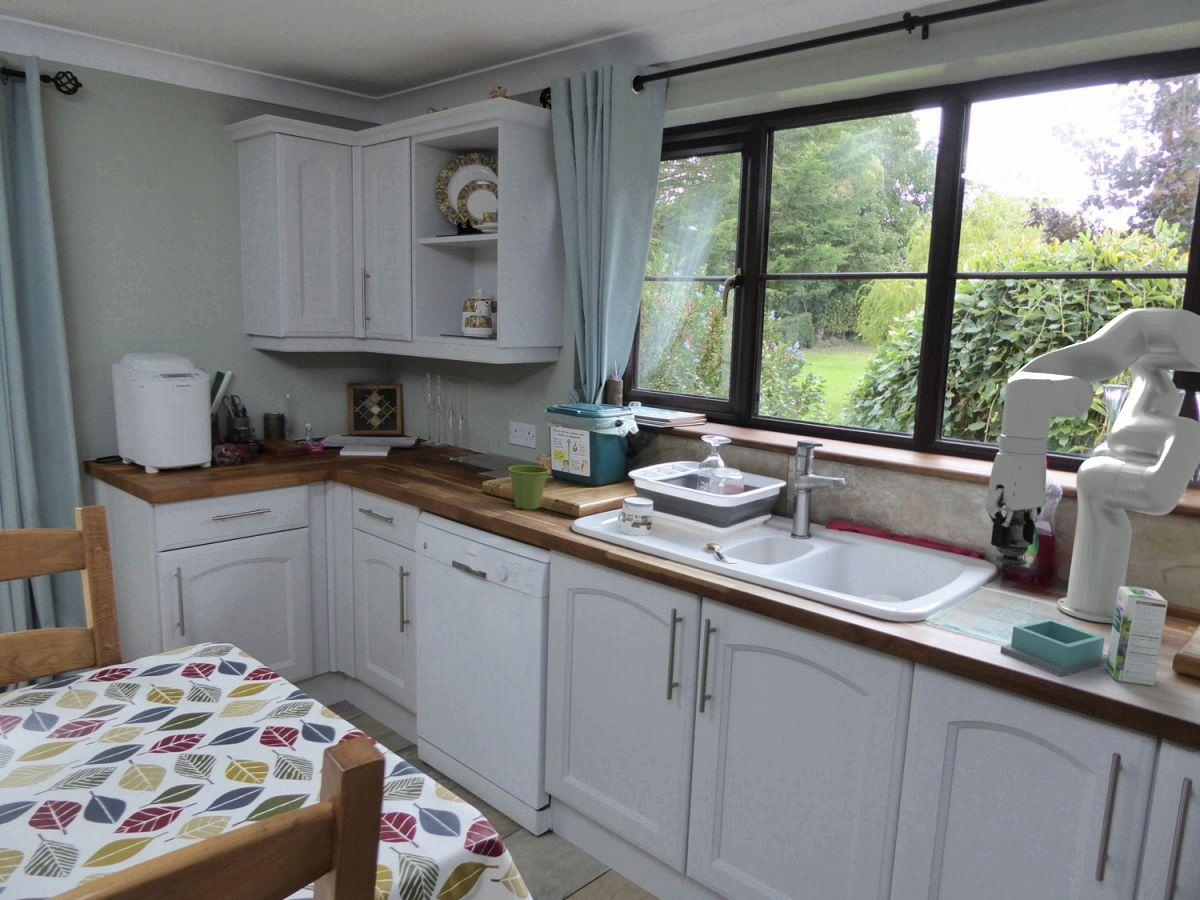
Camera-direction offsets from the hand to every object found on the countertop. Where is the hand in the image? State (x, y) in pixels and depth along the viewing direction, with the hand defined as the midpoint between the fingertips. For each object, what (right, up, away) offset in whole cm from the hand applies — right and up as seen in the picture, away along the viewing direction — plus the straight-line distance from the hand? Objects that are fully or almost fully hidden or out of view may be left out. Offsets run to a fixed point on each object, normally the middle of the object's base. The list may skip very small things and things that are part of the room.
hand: (1011, 544), depth 151 cm
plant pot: (-95, 0, +90) cm, 131 cm away
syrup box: (+13, -20, -14) cm, 28 cm away
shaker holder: (+4, -19, -6) cm, 20 cm away
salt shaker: (0, -3, +1) cm, 3 cm away
